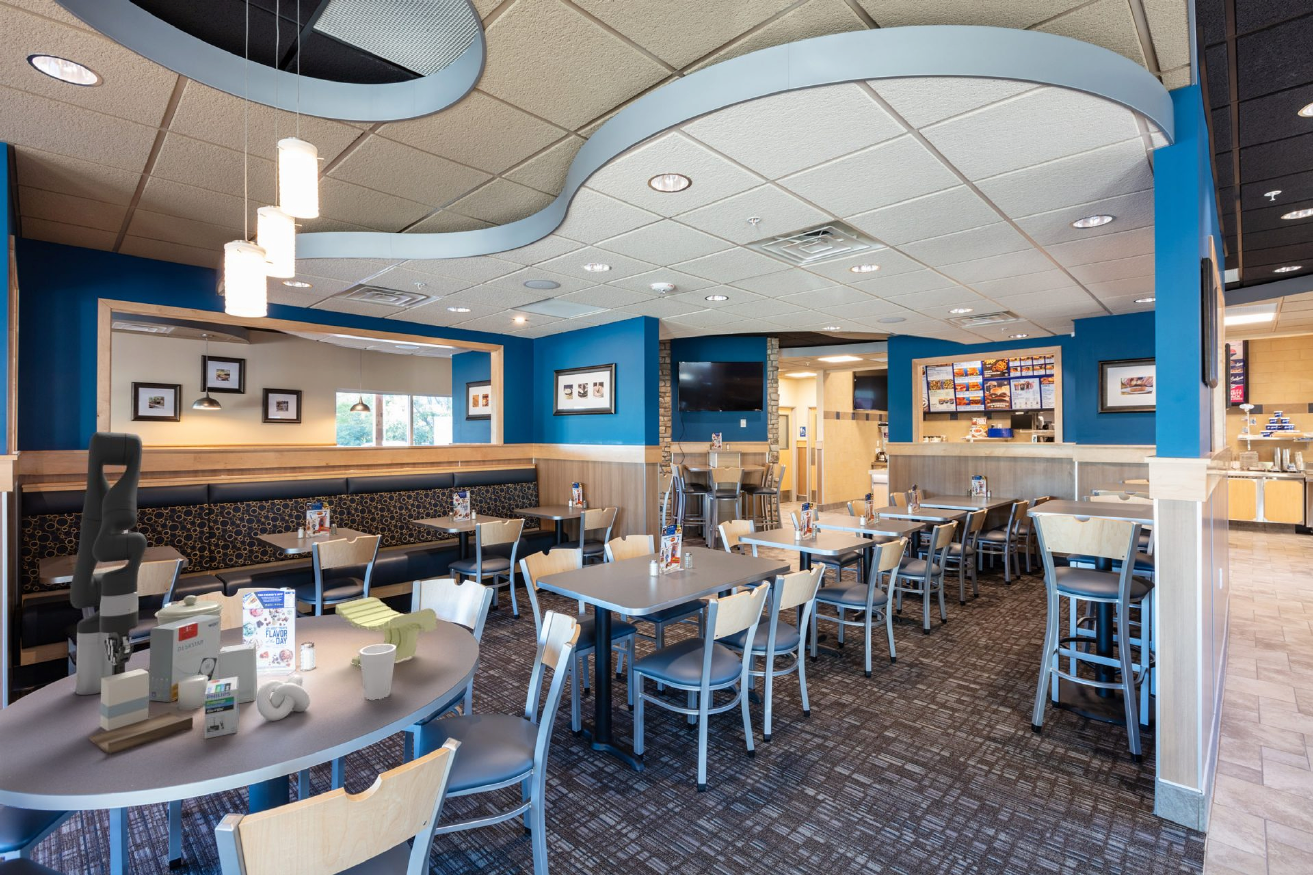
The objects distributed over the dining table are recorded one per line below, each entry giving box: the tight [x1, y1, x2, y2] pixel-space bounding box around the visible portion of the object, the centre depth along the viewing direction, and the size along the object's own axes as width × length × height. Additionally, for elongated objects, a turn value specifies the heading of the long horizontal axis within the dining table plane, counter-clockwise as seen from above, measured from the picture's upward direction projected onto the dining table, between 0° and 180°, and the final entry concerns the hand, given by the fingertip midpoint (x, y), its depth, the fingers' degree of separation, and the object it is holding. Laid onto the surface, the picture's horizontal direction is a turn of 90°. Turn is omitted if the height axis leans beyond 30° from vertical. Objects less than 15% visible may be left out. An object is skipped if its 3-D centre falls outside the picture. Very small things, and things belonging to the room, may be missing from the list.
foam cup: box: [358, 643, 396, 701], centre depth 174 cm, size 10×9×13 cm
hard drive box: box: [148, 615, 222, 703], centre depth 177 cm, size 16×8×20 cm, turn 168°
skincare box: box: [218, 642, 258, 704], centre depth 170 cm, size 8×6×15 cm
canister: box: [154, 595, 224, 626], centre depth 203 cm, size 18×18×21 cm
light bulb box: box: [204, 677, 240, 740], centre depth 153 cm, size 11×7×11 cm, turn 33°
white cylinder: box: [177, 675, 208, 711], centre depth 167 cm, size 6×6×7 cm
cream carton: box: [99, 668, 150, 731], centre depth 156 cm, size 5×8×12 cm, turn 147°
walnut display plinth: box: [88, 712, 194, 755], centre depth 150 cm, size 14×16×3 cm
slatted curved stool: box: [335, 596, 437, 666], centre depth 203 cm, size 30×16×18 cm, turn 59°
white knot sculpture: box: [256, 674, 311, 722], centre depth 162 cm, size 11×12×9 cm
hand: (118, 678), depth 159 cm, fingers closed
